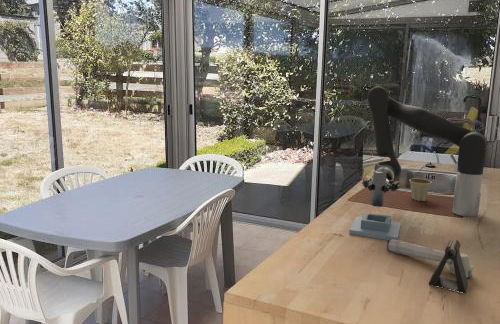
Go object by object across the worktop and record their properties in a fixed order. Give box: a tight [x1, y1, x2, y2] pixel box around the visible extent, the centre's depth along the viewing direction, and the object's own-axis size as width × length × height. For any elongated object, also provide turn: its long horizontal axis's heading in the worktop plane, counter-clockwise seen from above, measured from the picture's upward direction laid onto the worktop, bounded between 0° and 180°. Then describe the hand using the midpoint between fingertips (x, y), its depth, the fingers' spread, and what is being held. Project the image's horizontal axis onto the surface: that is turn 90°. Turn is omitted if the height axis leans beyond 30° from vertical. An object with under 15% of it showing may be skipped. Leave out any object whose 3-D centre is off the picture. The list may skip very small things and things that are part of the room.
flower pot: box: [409, 178, 433, 202], centre depth 192 cm, size 9×9×9 cm
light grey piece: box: [386, 239, 474, 279], centre depth 127 cm, size 5×7×25 cm
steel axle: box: [370, 170, 387, 208], centre depth 151 cm, size 4×4×12 cm
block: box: [348, 212, 402, 241], centre depth 153 cm, size 16×16×4 cm
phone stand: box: [428, 238, 469, 294], centre depth 113 cm, size 9×6×12 cm, turn 58°
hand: (377, 188), depth 148 cm, fingers closed on steel axle, 4 cm apart
